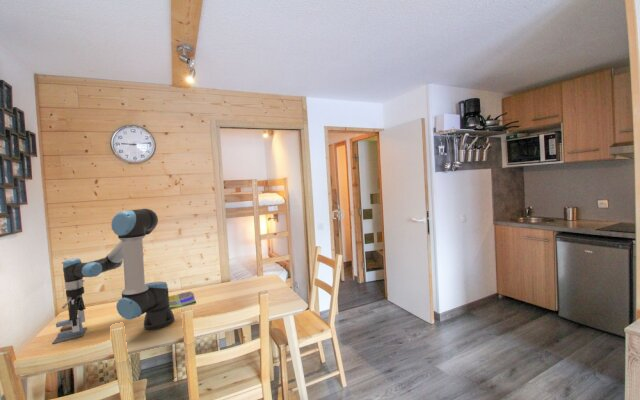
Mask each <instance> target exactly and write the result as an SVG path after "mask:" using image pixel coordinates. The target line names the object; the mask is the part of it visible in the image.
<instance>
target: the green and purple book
mask: <svg viewBox="0 0 640 400" xmlns="http://www.w3.org/2000/svg"><path fill="white" fill-rule="evenodd" d="M196 301H197V300H196V299H195V295H194V293H193V292H192V291H186V292H181V293H177V294H174V295H169V305H170V309H171V311H172V310H177V309H180V308H184V307H188V306H192V305H196Z"/></svg>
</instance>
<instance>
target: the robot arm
mask: <svg viewBox="0 0 640 400" xmlns="http://www.w3.org/2000/svg"><path fill="white" fill-rule="evenodd" d="M158 223H159V218H158V215H157V213H156V212H155V211H153V210H152V209H150V208H139V209H127V210H123V211H122V210H121V211H118V212H117V213H116V214H115V215H114V216H113V218H112V220H111V224H110V225H111V230H112V231H113V233H114V234H115V235H117V237H118V239H119V240H120V241H119V242H118V243H117V244H116V246H114V248H113V249H112V250H111V251H110V252H109V253H108V254H107V255H106V256H105V257H103V258H100V259H95V260H91V261H88V262H82V261H81V258H80V257H79V258H70V259H67V260H64V261H63V262H62V271H63V272H62V273H63V278H64V287H65V288H64V289H65V295H66V298H67V297H71V298H72V300H71V301H70V319H69V318H68V320H69V321H71V323H72V332H77V331H80V330H79V321H78V317H81V319H82V323H86V316H85V310H86V309H87V308H86V305H85V302H84V299H83V294H85V287H84V283H85V280H84V278H93V277H94V278H95V277H98V276H99V275H100V274H102V273H105V272H108V271H112V270H116V269H118V268H120V267H121V266H122V264H123V275H124V276H123V278H124V289H123V290H121V298H120V299H118V300H117V302H116V310H117V313H118V315H119V316H121V318H123V319H126V320H129V321H130V320H134V319H136V318H139V317H140V316H142V315H145V316H144V320H143V322H142V323H143V325H142V326H143V329H144V330H147V331H151V330H152V331H153V330H154V331H155V330H158V329H162V328H165V327H168V326H169V325H171V324H173V323H174V322H175V315H174V313H173V311H172V310H171V309H170V305H169V296H170V295H169V287H168V283H167V282H166V281H152V282H148V283H146V282H145V266H144V263H145V262H144V246H143V239H144V238H145V237H146V236H147V235H150V234H151V233H152V232H153V231H154V230H156V228H157V226H158Z"/></svg>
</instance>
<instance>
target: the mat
mask: <svg viewBox="0 0 640 400" xmlns="http://www.w3.org/2000/svg"><path fill="white" fill-rule="evenodd" d="M82 328H83V332H82V333H80V334H75V335H71V336H67V337H63V338H59V339H58V336H56V338H55V339H54V340H53V342H52V345H56V344H59V343H63V342H67V341H72V340H76V339H79V338H80V339H81V338H83V336H84V334H85V333H86V331H87V329H88V327H82Z"/></svg>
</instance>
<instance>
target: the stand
mask: <svg viewBox="0 0 640 400" xmlns="http://www.w3.org/2000/svg"><path fill="white" fill-rule="evenodd" d="M66 300H67V302H66V303H65V304H64V305H63V306H62V309H65V308H66V306H67V310H68V320H69V319H70V301H71V300H72V298H71V297H67V296H66ZM70 330H72V324H70V325H66V326H61V328H60V330H59V331H60V332H59V333H61V332H65V331H70Z"/></svg>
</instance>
